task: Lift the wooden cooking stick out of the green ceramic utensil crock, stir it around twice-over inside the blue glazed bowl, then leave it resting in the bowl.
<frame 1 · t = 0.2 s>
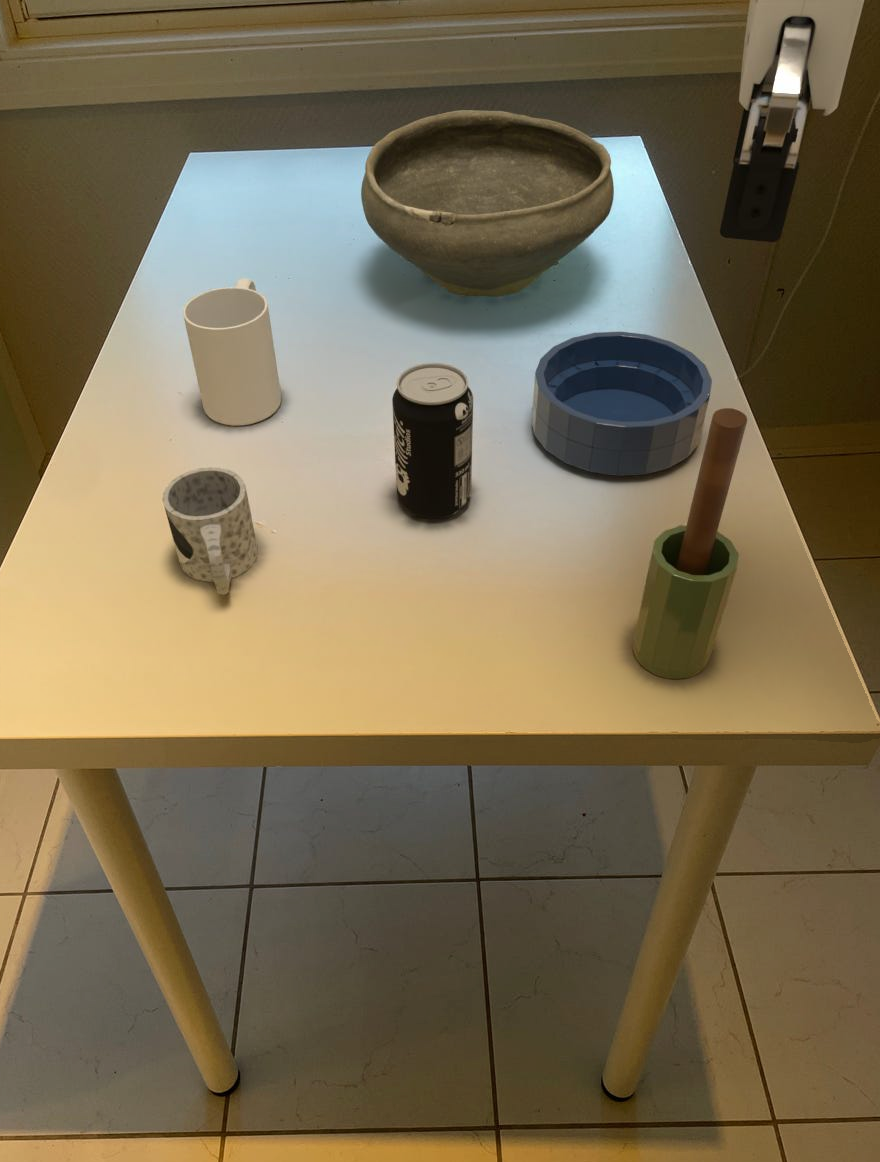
hand: (754, 200, 56), 30 cm above the table, tool pointing down, fingers open, 9 cm apart
utensil crock: (670, 651, 72), on the table
cooking stick: (672, 643, 72), point 1 cm above the table, touching utensil crock
bowl: (484, 279, 113), on the table
mug: (248, 394, 98), on the table
mug 2: (221, 569, 81), on the table
beverage can: (434, 501, 86), on the table
mixing bowl: (614, 431, 92), on the table
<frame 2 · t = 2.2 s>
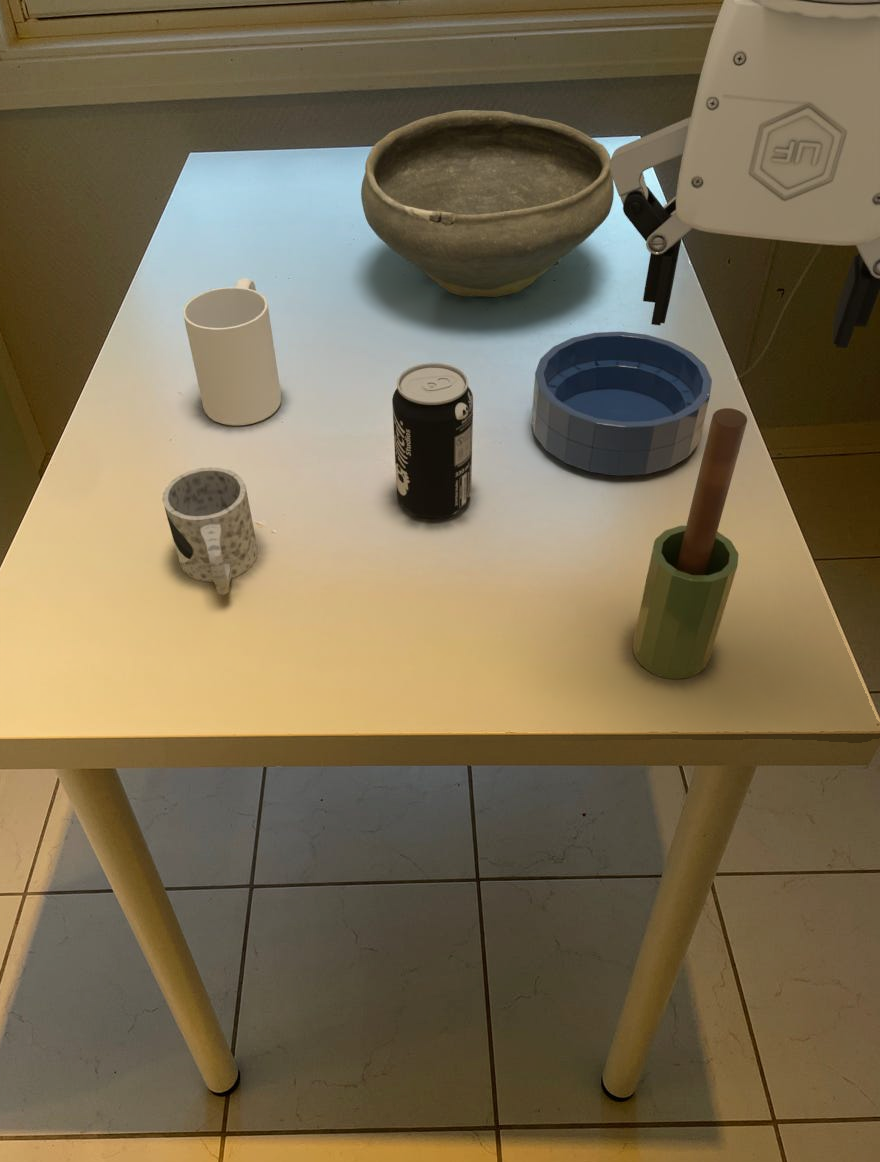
hand: (748, 324, 53), 27 cm above the table, tool pointing down, fingers open, 9 cm apart
nothing on the table moved.
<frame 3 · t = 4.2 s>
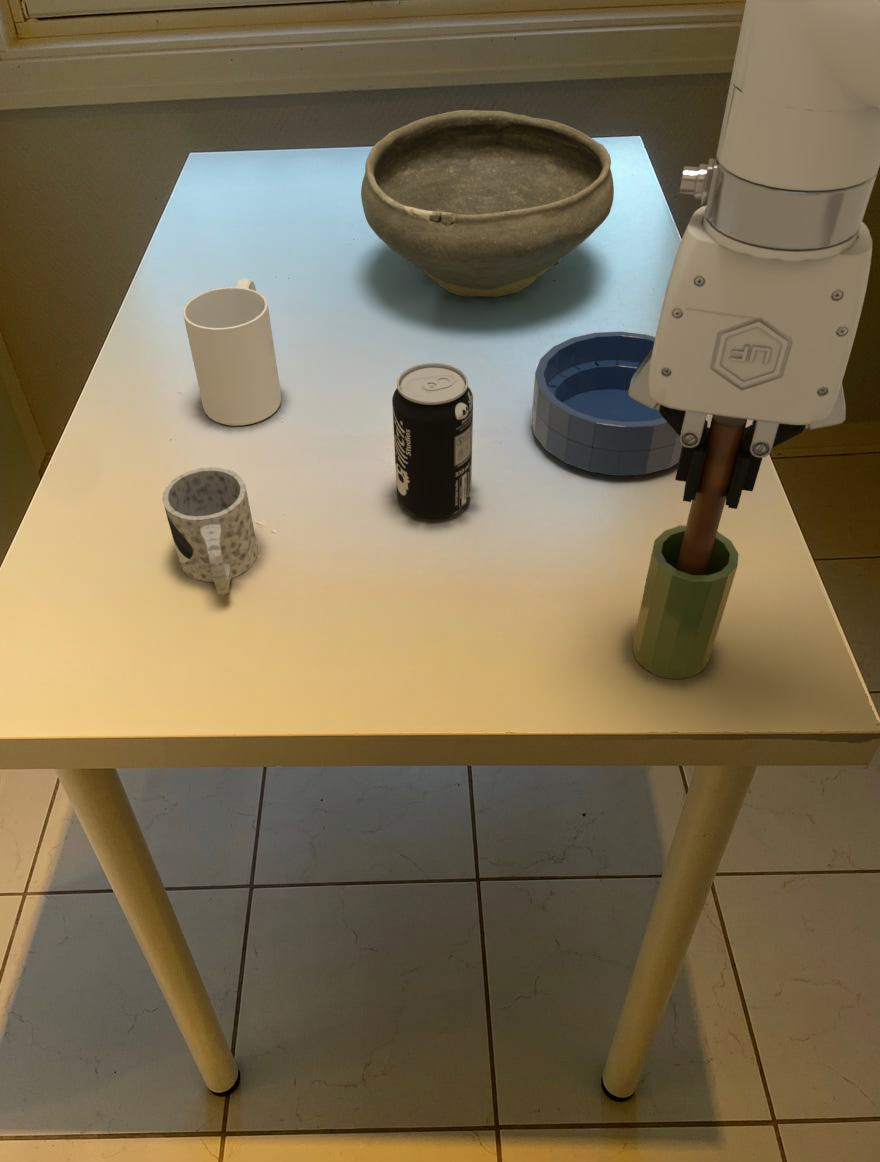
hand: (711, 490, 61), 15 cm above the table, tool pointing down, fingers closed on cooking stick, 2 cm apart
cooking stick: (672, 643, 72), point 1 cm above the table, touching gripper, utensil crock
everything else where it was.
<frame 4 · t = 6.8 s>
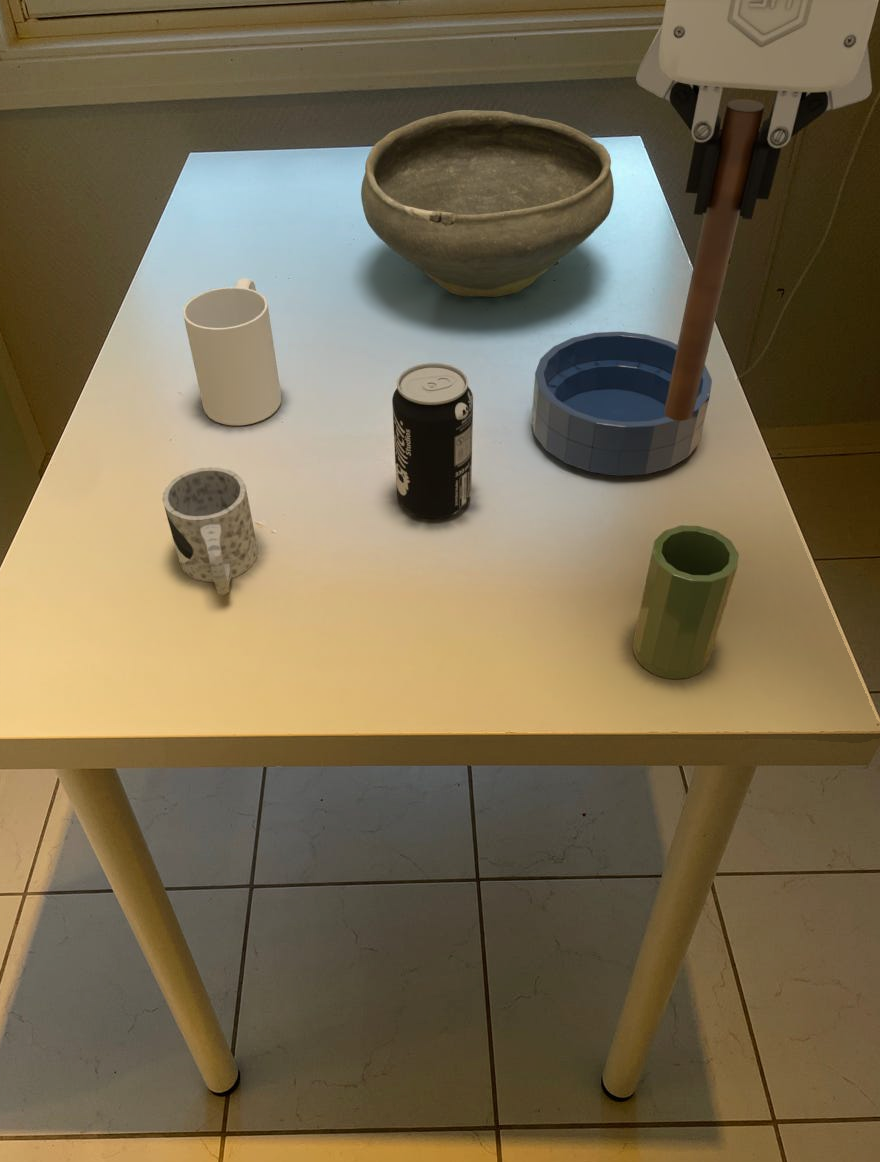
hand: (723, 205, 57), 29 cm above the table, tool pointing down, fingers closed on cooking stick
cooking stick: (678, 412, 68), point 15 cm above the table, touching gripper
everything else where it was.
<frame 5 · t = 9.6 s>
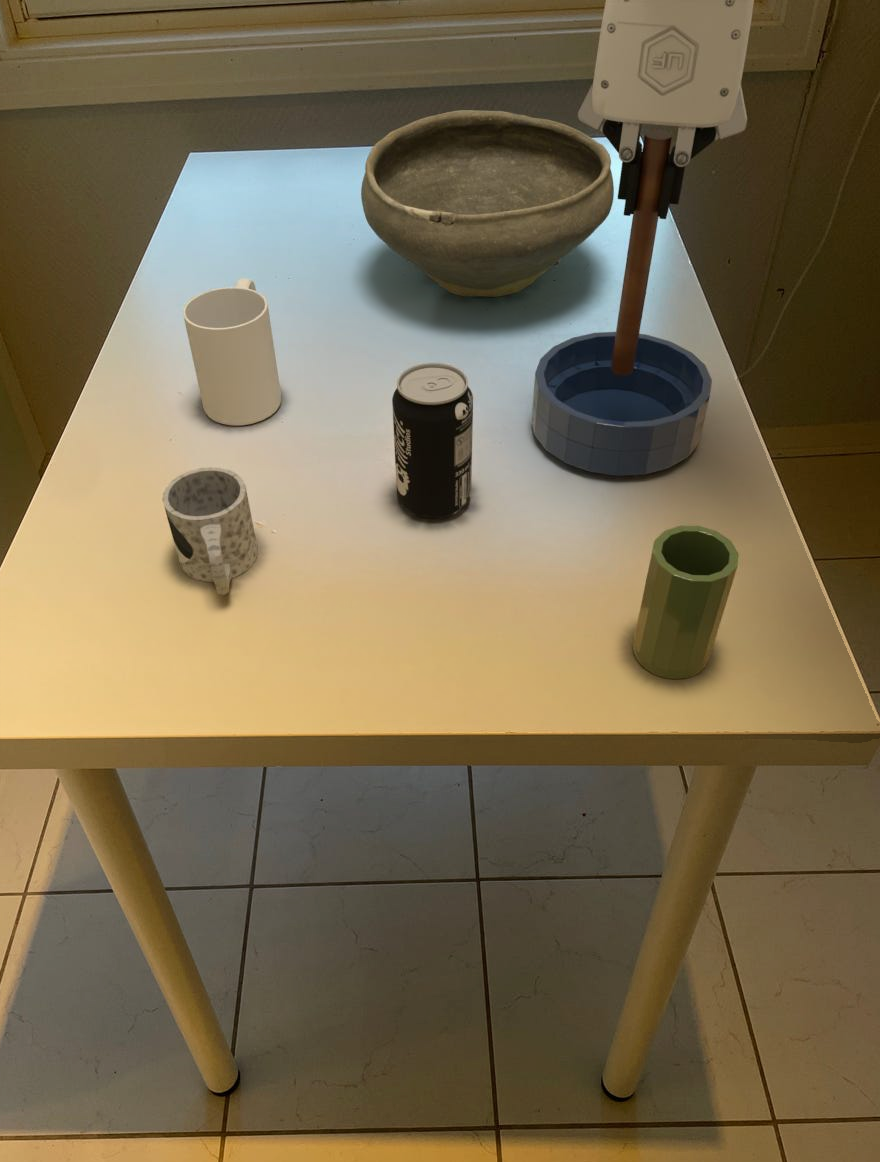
hand: (647, 208, 76), 21 cm above the table, tool pointing down, fingers closed on cooking stick
cooking stick: (621, 369, 87), point 7 cm above the table, touching gripper
everything else where it was.
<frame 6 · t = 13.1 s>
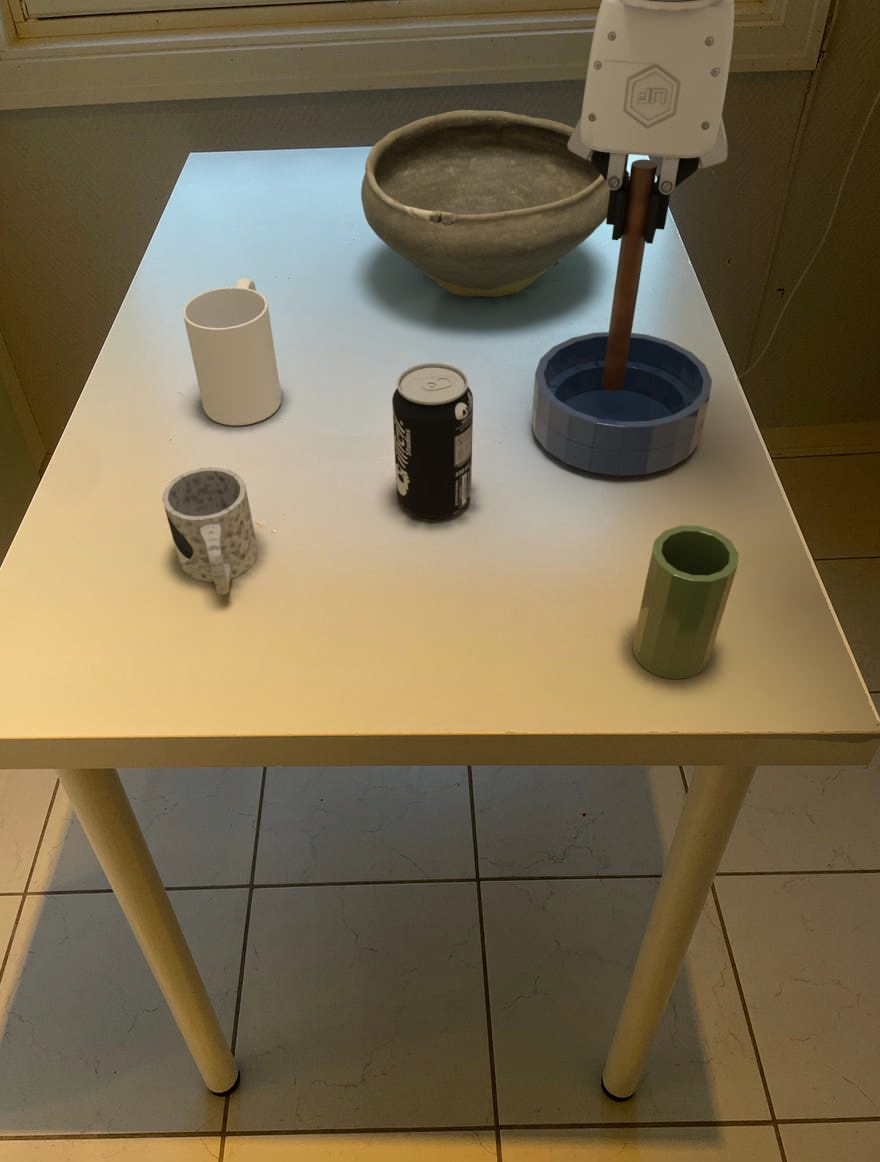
hand: (634, 233, 80), 18 cm above the table, tool pointing down, fingers closed on cooking stick
cooking stick: (612, 385, 90), point 4 cm above the table, touching gripper
everything else where it was.
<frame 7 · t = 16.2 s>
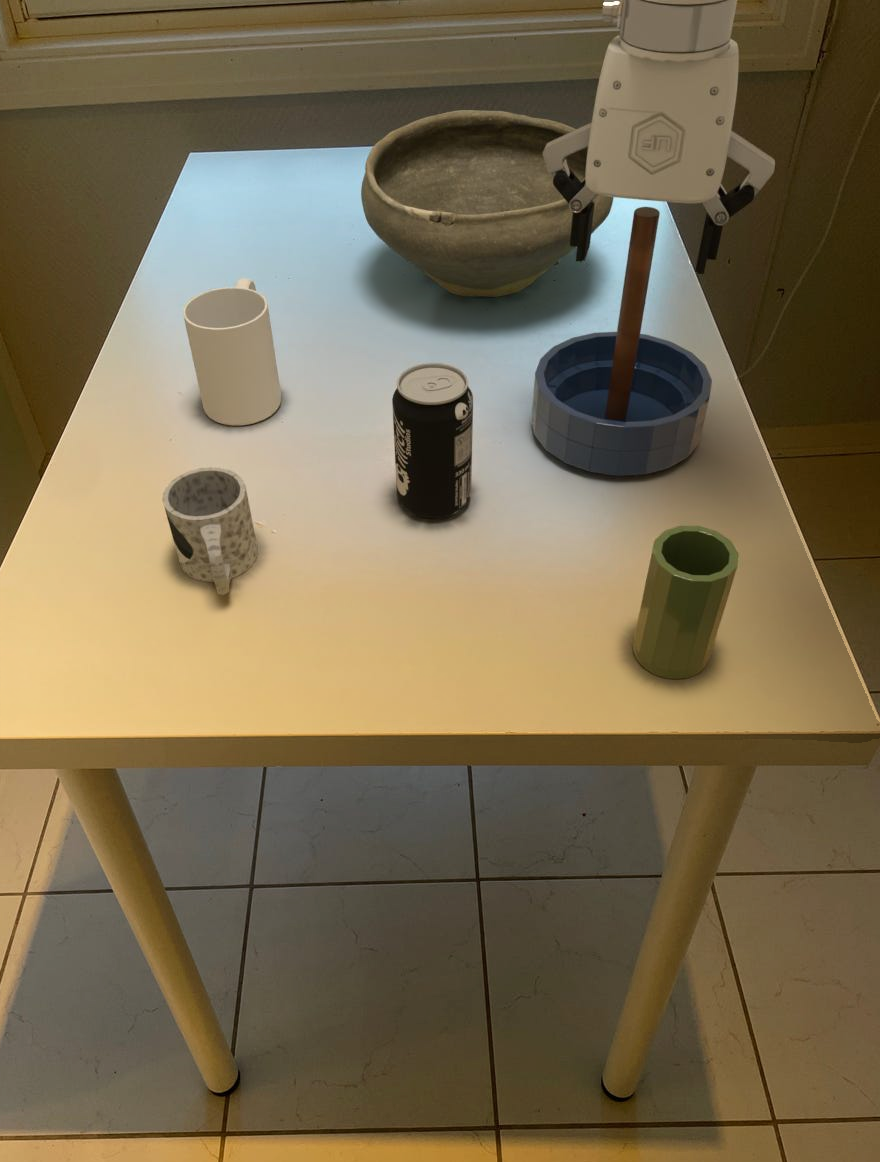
hand: (640, 260, 79), 17 cm above the table, tool pointing down, fingers open, 9 cm apart
cooking stick: (614, 423, 91), point 1 cm above the table, touching mixing bowl
everything else where it was.
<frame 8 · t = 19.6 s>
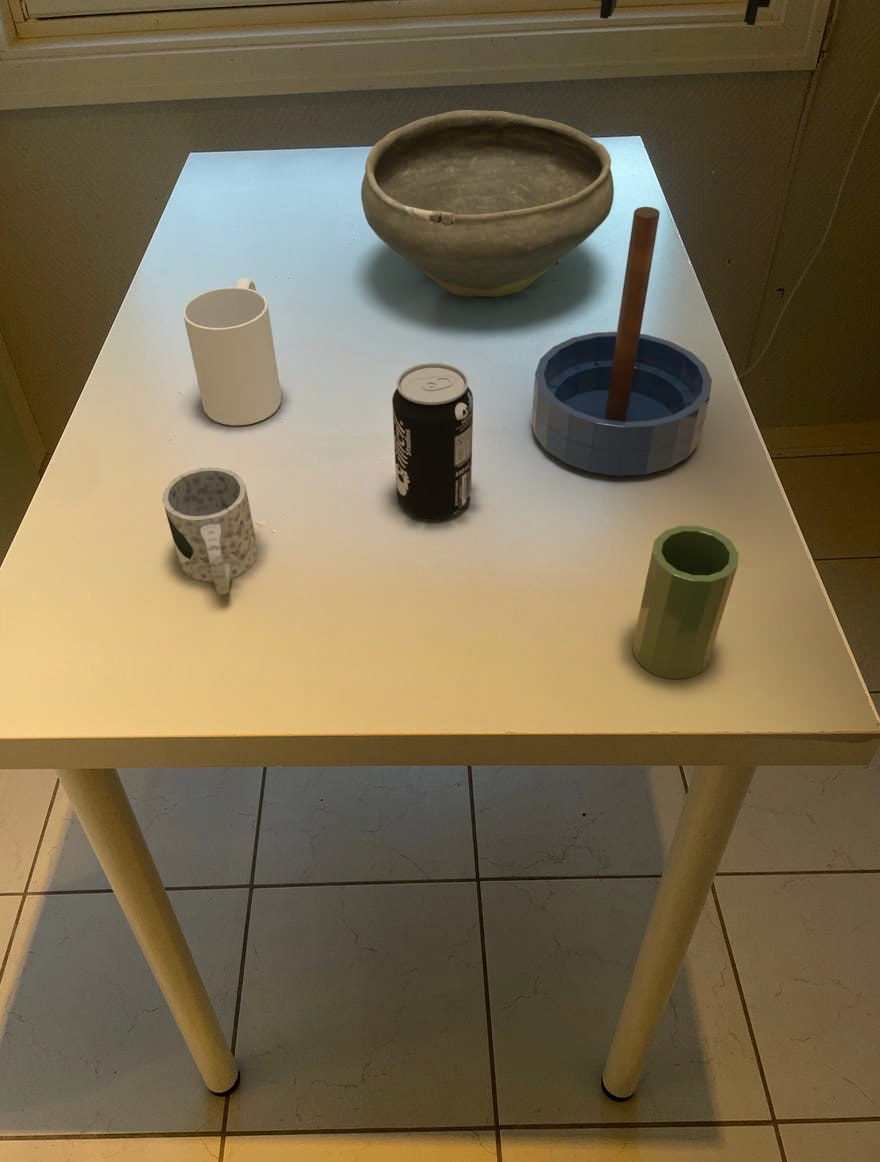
hand: (677, 16, 66), 34 cm above the table, tool pointing down, fingers open, 9 cm apart
nothing on the table moved.
at the end: cooking stick inside the target area in the mixing bowl (0.1 cm from its centre), point 0.8 cm above the mixing bowl's base; cooking stick moved 28.2 cm from its start; the gripper is holding nothing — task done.
